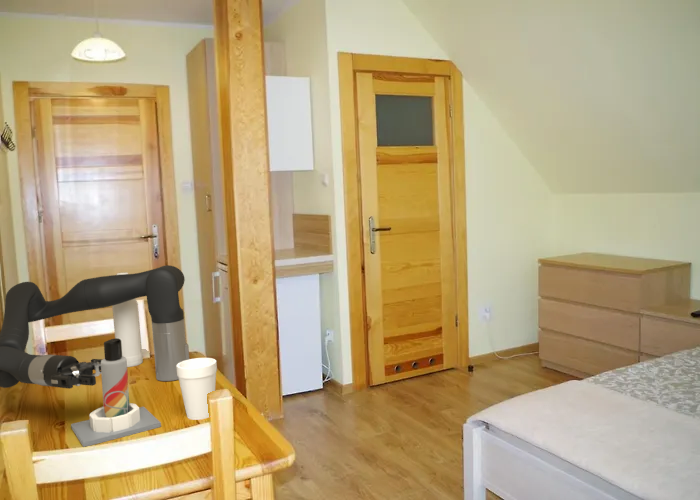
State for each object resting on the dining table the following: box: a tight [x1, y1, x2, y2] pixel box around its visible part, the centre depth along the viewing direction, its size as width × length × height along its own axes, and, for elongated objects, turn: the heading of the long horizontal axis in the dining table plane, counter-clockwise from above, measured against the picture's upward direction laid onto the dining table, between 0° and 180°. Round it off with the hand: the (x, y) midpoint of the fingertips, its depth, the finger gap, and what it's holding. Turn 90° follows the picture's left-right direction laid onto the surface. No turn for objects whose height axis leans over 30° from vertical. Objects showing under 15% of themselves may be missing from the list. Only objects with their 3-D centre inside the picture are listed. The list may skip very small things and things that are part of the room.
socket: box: [70, 402, 162, 448], centre depth 141 cm, size 17×14×4 cm
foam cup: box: [176, 357, 218, 421], centre depth 146 cm, size 10×9×13 cm
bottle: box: [111, 271, 144, 368], centre depth 194 cm, size 8×8×30 cm
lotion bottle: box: [100, 337, 130, 418], centre depth 141 cm, size 6×6×20 cm
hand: (107, 374), depth 140 cm, fingers open, 8 cm apart
